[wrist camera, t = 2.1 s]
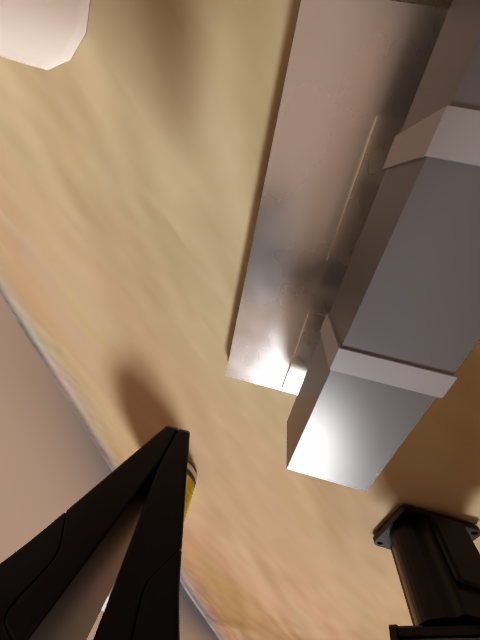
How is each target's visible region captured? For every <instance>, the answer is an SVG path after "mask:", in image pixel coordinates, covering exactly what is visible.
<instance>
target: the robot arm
mask: <svg viewBox="0 0 480 640" xmlns="http://www.w3.org/2000/svg"><path fill="white" fill-rule="evenodd" d="M189 437H190V432H189V431H186V430H183V429H179V430H178V428H176V427H172V426H166V427H165V428H163V429H162V430H161V431H160V432H159V433H158V434H156V435H155V436H154V437H153V438H152V439H150V440H149V441H148V442H147V443H146V444H145V445H143V446H142V447H141V448H140V449H139V450H138V451H136V452H135V453H134V454H133V455H132V456H130V457H129V458H128V459H127V460H126V461H125V462H123V463H122V464H121V465H120V466H119V467H118V468H116V469H115V470H114V471H113V472H112V473H110V474H109V475H108V476H107V477H106V478H105V479H103V480H102V481H101V482H100V483H99V484H98V485H96V486H95V487H94V488H93V489H92V490H90V491H89V492H88V493H87V494H86V495H85V496H84V497H82V498H81V499H80V500H79V501H77V502H76V503H75V504H74V505H73V506H72V507H70V508H69V509H68V510H67V512H66V513H63V514H62V515H61V516H60V517H58V518H57V519H56V520H55V521H54V522H53V523H52V524H50V525H49V526H48V527H47V528H46V529H44V530H43V531H42V532H41V533H39V534H38V535H37V536H36V537H34V538H33V539H32V540H31V541H29V542H28V543H27V544H26V545H24V546H23V547H22V548H21V549H19V550H18V551H17V552H15V553H14V554H13V555H11V556H10V557H9V558H7V559H6V560H5V561H3V562H2V563H1V564H0V640H86V639H87V637H88V635H89V633H90V631H91V629H92V627H93V625H94V623H95V621H96V619H97V617H98V615H99V613H100V611H101V609H102V607H103V605H104V603H105V601H106V599H107V597H108V595H109V593H110V591H111V589H112V587H113V589H112V592H111V594H110V597H109V600H108V602H107V605H106V608H105V610H104V613H103V616H102V618H101V621H100V624H99V626H98V629H97V631H96V634H95V637H94V639H93V640H180V631H179V591H180V589H179V588H180V568H181V554H182V552H181V549H182V537H183V523H184V509H185V494H186V480H187V465H188V451H189ZM479 536H480V529H479V527H478V526H476V525H474V524H470V523H467V522H463V521H460V520H456V519H453V518H449V517H446V516H442V515H439V514H436V513H432V512H429V511H425V510H422V509H418V508H415V507H411V506H407V505H405V506H401V507H400V508H399V509H398V510H397V511H396V513H395V514H394V515H393V516H392V517H391V518H390V519H389V520H388V521H387V522H386V524H385V525H384V526H383V527H382V528H381V529H380V530H379V531H378V532H377V533H376V535H375V536H374V537H373V540H374V543H375V545H377V546H380V547H384V548H387V549H390V550H391V551H392V555H393V558H394V562H395V565H396V568H397V572H398V575H399V579H400V582H401V586H402V589H403V592H404V596H405V599H406V603H407V606H408V609H409V613H410V616H411V620H412V623H413V626H398V625H396V624H395V625H389V631H390V639H391V640H480V554H479V552H478V550H477V548H476V546H475V545H474V543H473V541H474V540H475V539H476V538H478V537H479ZM114 583H115V584H114ZM113 585H114V586H113Z"/></svg>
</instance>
